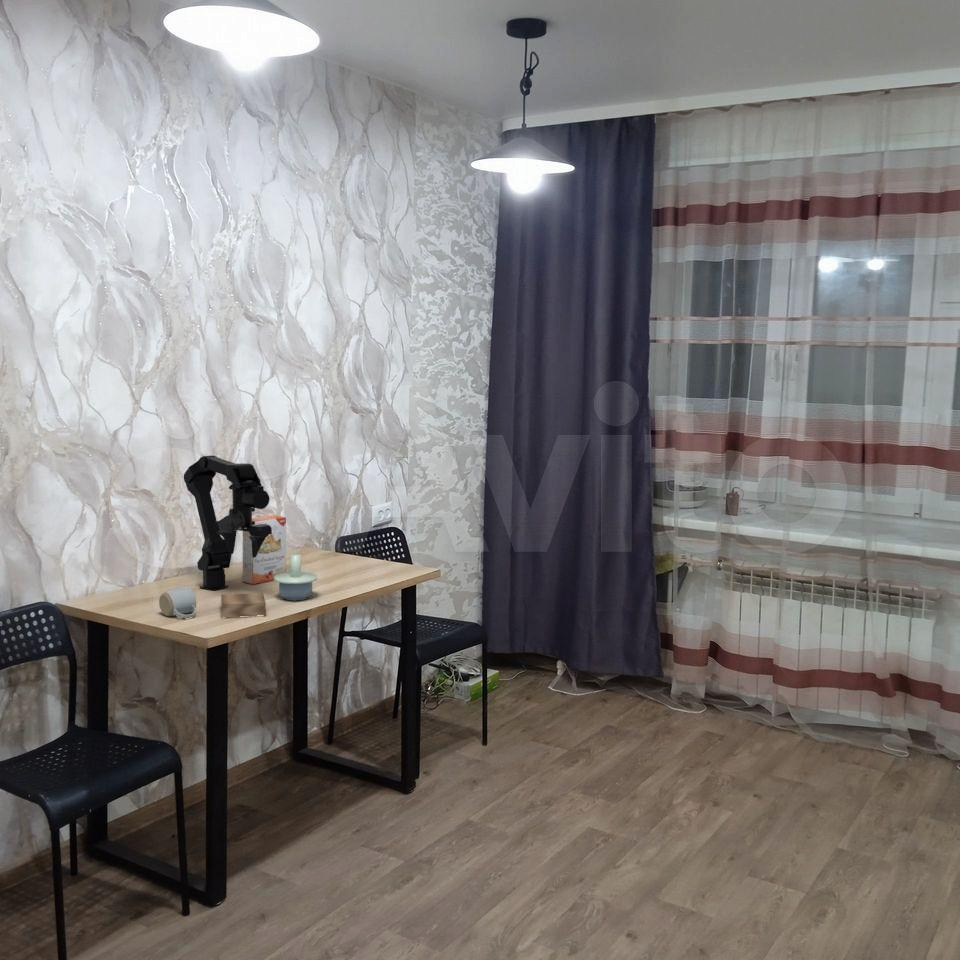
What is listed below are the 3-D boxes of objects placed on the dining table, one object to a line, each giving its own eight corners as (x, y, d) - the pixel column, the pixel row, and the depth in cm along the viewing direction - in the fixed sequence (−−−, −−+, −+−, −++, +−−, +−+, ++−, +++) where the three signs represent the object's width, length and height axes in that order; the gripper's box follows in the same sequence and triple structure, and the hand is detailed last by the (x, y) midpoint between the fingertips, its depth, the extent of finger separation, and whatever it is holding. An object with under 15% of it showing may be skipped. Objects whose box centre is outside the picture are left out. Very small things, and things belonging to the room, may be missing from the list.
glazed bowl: (272, 599, 299) (272, 580, 298) (293, 592, 308) (293, 574, 307) (297, 603, 294) (297, 584, 293) (318, 597, 303) (318, 578, 302)
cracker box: (253, 585, 316) (253, 521, 314) (241, 582, 320) (241, 519, 317) (287, 578, 327) (286, 516, 325) (274, 575, 331) (274, 514, 328)
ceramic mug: (157, 614, 279) (157, 588, 278) (182, 609, 285) (182, 583, 284) (178, 622, 272) (177, 595, 271) (203, 616, 279) (203, 590, 277)
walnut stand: (222, 618, 276) (222, 604, 276) (221, 607, 288) (221, 594, 287) (265, 616, 280) (265, 602, 279) (263, 605, 291) (263, 592, 290)
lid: (273, 584, 293) (272, 559, 292) (274, 574, 305) (274, 551, 304) (317, 583, 295) (317, 559, 294) (317, 574, 308) (317, 550, 307)
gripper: (200, 505, 295) (201, 556, 297) (247, 511, 286) (247, 564, 288) (226, 501, 304) (227, 550, 306) (272, 506, 295) (273, 557, 297)
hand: (242, 555), depth 299 cm, fingers open, 9 cm apart
